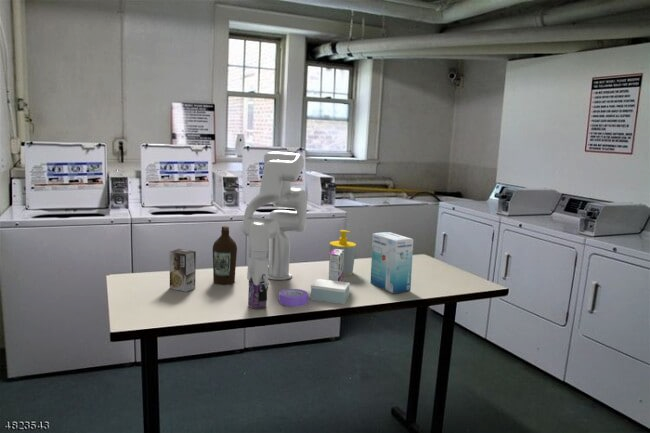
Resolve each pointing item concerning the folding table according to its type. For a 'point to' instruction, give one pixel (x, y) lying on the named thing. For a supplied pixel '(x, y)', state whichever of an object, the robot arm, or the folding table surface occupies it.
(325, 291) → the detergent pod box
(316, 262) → the folding table surface
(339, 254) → the candy bar box
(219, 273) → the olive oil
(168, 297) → the folding table surface
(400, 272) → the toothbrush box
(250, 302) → the beverage can
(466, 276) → the folding table surface
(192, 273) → the coffee box
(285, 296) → the masking tape
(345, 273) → the soap bottle
